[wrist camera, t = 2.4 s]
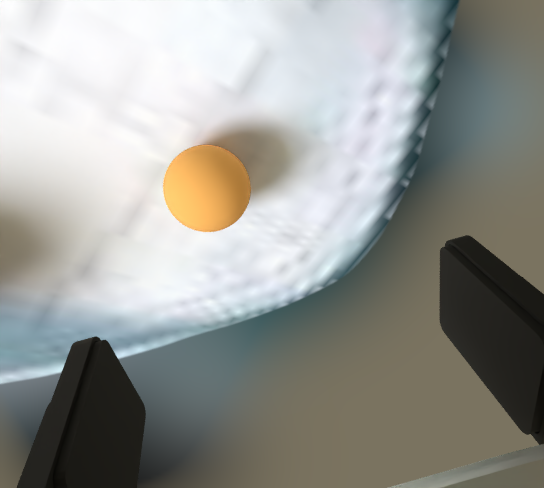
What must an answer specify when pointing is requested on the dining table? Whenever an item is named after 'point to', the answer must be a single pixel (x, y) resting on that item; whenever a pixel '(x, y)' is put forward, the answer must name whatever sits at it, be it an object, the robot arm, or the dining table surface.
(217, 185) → the ball
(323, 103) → the dining table surface
